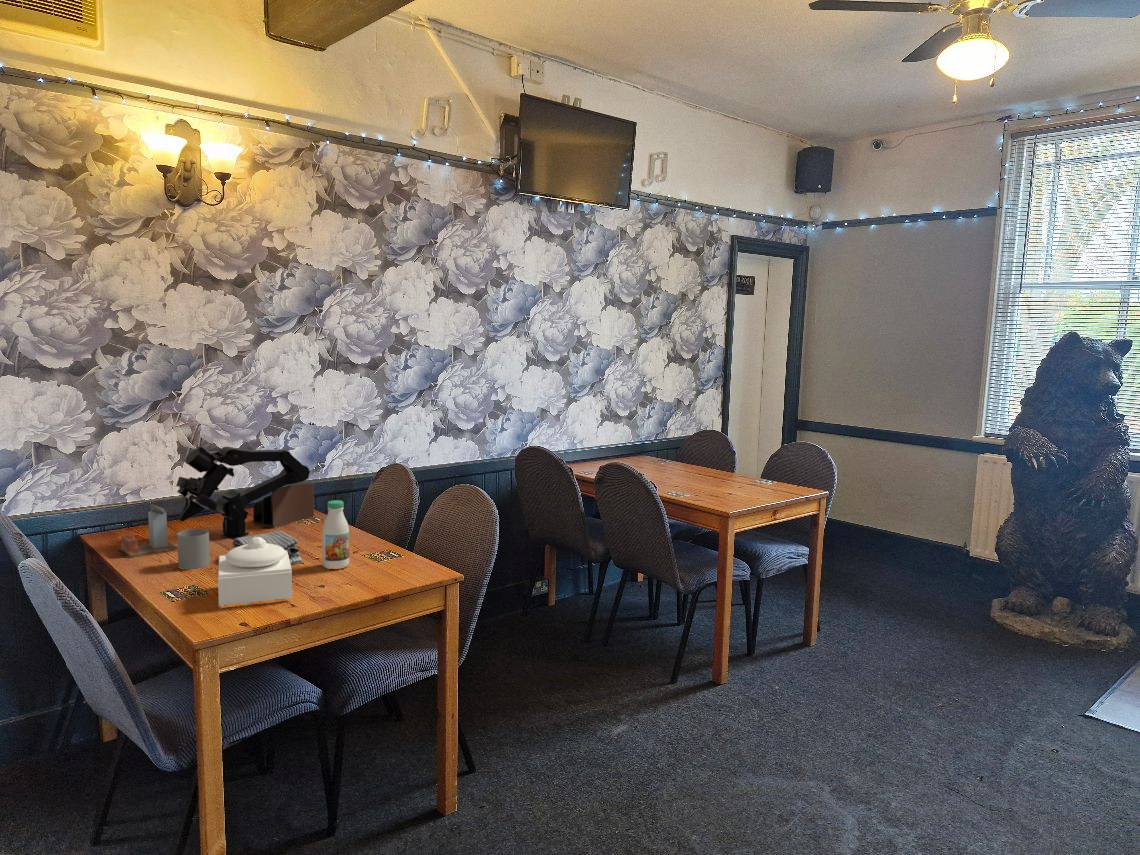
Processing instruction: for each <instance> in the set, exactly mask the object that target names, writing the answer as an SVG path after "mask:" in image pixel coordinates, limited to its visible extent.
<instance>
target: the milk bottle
mask: <svg viewBox="0 0 1140 855" xmlns="http://www.w3.org/2000/svg"><path fill="white" fill-rule="evenodd" d="M326 504H327V515H326V518H325V521H324V523H323V526H322V540H321V543H322V545H321V546H322V547H321V548H322V549H321V550H322V551H321V553H322V555H321V558H322V559H321V560H322V567H323V566H324V567H326V568H340V567H344V566H347V565H348V564H349V565H350V530H349V528H350V527H349V523H348V521H347V519H346V517H345V514H344V509H345V508H344V506H345V505H344V501H343V500H336V499H335V500H329V501H327V503H326ZM324 567H323V568H324Z"/></svg>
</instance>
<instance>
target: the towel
mask: <svg viewBox="0 0 1140 855" xmlns="http://www.w3.org/2000/svg"><path fill="white" fill-rule="evenodd" d="M254 537H261V538H263V539H264V540H265V541H266V543H269V544H274V545H277V546H280V547H282V548H283V549H284V550H287V552H288V556H289V560H290V564H293V563H299V562H302V563H303V559H302V558H301V557H300V556H301V553H299V552H300V548H299V547H298V546H297V544H298V543H299V540H297V538H294V537H293V536H291V535H289V534H287V533H285V532H284V531H282V530H275V531H271V532H267V533H259V534H254V535H248V536H241V537H238V538H233V541H232V545H233V549H234V548H236V547H239V546H242V545H246V544H248V542H249V541H250V540H251V539H252V538H254Z"/></svg>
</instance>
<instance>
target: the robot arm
mask: <svg viewBox="0 0 1140 855" xmlns="http://www.w3.org/2000/svg"><path fill="white" fill-rule="evenodd" d="M184 462H185V464H187V465H188V466H189V467H191V468H193V469H194V470H196V472H198V473H204V472H205V473H204V474H203V475H202V477H200V476H199V477H197V478H196V477H189V478H187V477H183V476H179V477H178V480H177V483H176V485H175V487H179V489H177V491H176V492H177V494H179V495H181V496H182V499H183V502H184V504H183V508H182V510H181V513H180V515H179V518H178V520H179V521H180V522H185V521H186V520H188V519H189V518H192V517H193V516H195V515H196V514H199V513H200V512H202V511H205V510H206V508H208V509H209V510H210V511H212V512H215V511H216V510H217V512H219V513H220V514H221V516H222V517H223V521H222V533H221V534H220V537H222V536H223V537H224V538H231V539H235V538H241V537H245V536H247V535H250V533H249V532H248V531H246V520H247V518H248V515H249V512H247V511H246V507H247V506H248V505H249V504H251V503H253V502H255V501H256V500H259V499H261V498H262V497H263V498H264V496H265V497H266V496H268V495H269V494H271V493H272V492H273V491H275V490H277V489H280V488H283V487H286V486H289V485H293V484H300V483H303V482H305V481H307V480H308V479H309V476H310V474H311V473H310V468H309V467H308V466H307V465H305V464H303V463H302V462H300V461H299V460H298V459H297V458H295V456H293V455H292V453H291V452H290V451H288V450H285V449H283V448H281V449H244V448H239V447H234V446H233V447H231V446H223V447H222V448H221V449H220V450H219V451H216V452H215V451H214V452H212V453H210V452H208V451H207V450H206V449H205V448H204V447H202V446H198V447H197V448H195V449H194V450H192V451H190V452H189V453H188V455H186V457H185V460H184ZM216 462H218V463H219V464H218V463H216ZM253 462H254V463H255V462H257V463H259V462H279V463H280V465H281V466H282V470H281V471H280V472H279V473H278V474H276V475H275V476H273V477H270V478H267V479H266V480H264V481H261V482H260V483H258V484H256V485H253V486H251V487H249V488H246V489H245V490H243V491H237V490H234V489H231V490H229V491H228V492H226V493H221V495H220V497H218V499H216V501H215V500H214V499H212V498H211V497H212V495H213V494H214V493H215V492H218V491H219V490H220V488H219V486H220V485H221V483H223V481H224V479H225V478H226V477H227V476H230V477H232V478H234V477H235V473H234V468H233V467H234V466H235V467H237V466H240V465H245V464H247V463H253ZM224 464H225V465H224ZM227 465H228V466H231V467H227ZM205 507H206V508H205Z"/></svg>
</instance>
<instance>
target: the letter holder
mask: <svg viewBox="0 0 1140 855" xmlns="http://www.w3.org/2000/svg"><path fill="white" fill-rule="evenodd" d="M314 491H315V488H314V484H313V483H312V482H299V483H295V484H288V485H285V486H283V487H281V488H279V489H277V490H275V491H273V492H271V493H270V495H266V496H265V497H263V499H261V500H258V501H257V502H255V503H254V504H253V513H252V514H253V520H252V524H254V525H253V526H258V525H259V526H258V527H263V526H264V528H268V527H269V528H268V529H276V528H275V527H277V528H280V527H282V526H281V525H284V526H286V525H285V524H287V525H290V524H289V523H291V524H293V523H292V522H295V521H298V522H300V521H299V520H302V519H305V520H307V519H306V518H309V517H313V516H314V517H315V492H314ZM314 517H313V518H314ZM309 519H310V518H309ZM302 521H303V520H302ZM295 523H296V522H295ZM279 526H280V527H279Z"/></svg>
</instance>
